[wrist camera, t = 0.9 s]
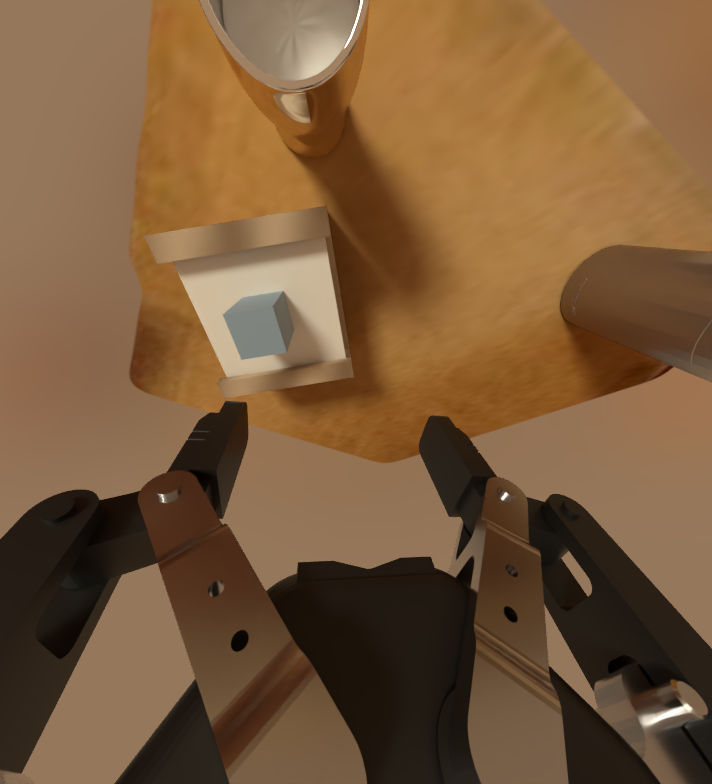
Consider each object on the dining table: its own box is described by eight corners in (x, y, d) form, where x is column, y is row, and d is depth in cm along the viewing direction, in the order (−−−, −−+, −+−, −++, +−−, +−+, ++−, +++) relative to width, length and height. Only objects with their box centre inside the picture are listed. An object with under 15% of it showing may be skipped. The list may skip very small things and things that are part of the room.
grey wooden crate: (327, 210, 26) (326, 205, 18) (348, 344, 33) (354, 377, 26) (195, 232, 26) (143, 235, 18) (247, 360, 33) (224, 398, 26)
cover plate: (323, 225, 21) (321, 225, 16) (346, 357, 27) (349, 389, 22) (175, 249, 21) (125, 258, 16) (232, 376, 28) (210, 411, 22)
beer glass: (359, 150, 23) (395, 66, 11) (285, 175, 24) (237, 123, 11) (336, 29, 20) (349, -317, 7) (249, 62, 20) (115, -206, 8)
